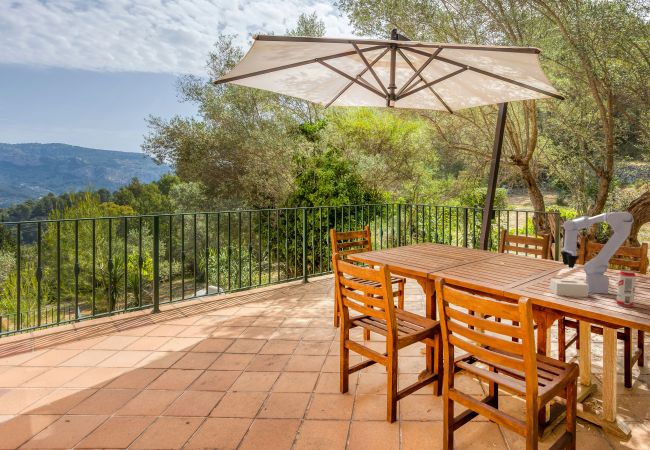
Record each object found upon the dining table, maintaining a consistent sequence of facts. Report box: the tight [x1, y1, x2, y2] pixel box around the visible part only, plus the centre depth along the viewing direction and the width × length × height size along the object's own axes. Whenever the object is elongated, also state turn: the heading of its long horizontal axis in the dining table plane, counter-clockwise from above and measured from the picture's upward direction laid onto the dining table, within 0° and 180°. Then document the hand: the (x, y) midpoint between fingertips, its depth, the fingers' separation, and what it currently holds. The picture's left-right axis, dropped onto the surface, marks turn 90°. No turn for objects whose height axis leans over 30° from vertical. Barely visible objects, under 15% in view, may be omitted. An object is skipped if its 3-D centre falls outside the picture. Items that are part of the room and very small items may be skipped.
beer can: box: [615, 269, 637, 308], centre depth 178 cm, size 6×6×16 cm
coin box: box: [549, 278, 589, 298], centre depth 198 cm, size 14×10×6 cm
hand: (568, 266), depth 215 cm, fingers open, 7 cm apart
